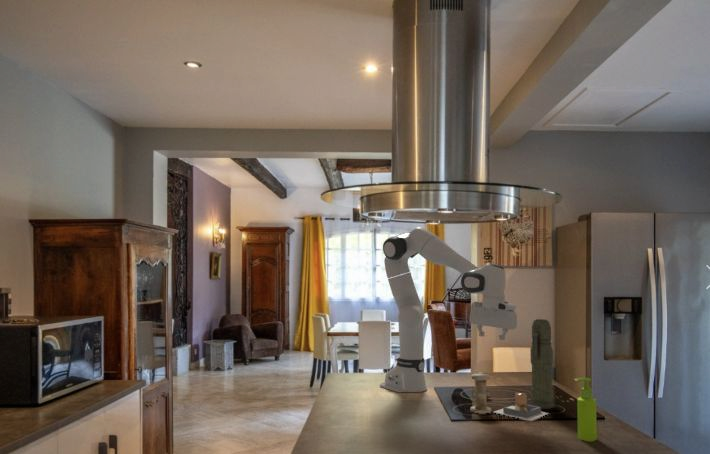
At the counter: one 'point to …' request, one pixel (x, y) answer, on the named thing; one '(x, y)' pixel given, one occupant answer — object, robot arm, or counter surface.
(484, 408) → the wooden spool
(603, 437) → the counter surface
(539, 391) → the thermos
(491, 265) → the robot arm
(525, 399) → the copper plug
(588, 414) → the soap dispenser
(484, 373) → the push button
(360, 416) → the counter surface
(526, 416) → the terminal board
